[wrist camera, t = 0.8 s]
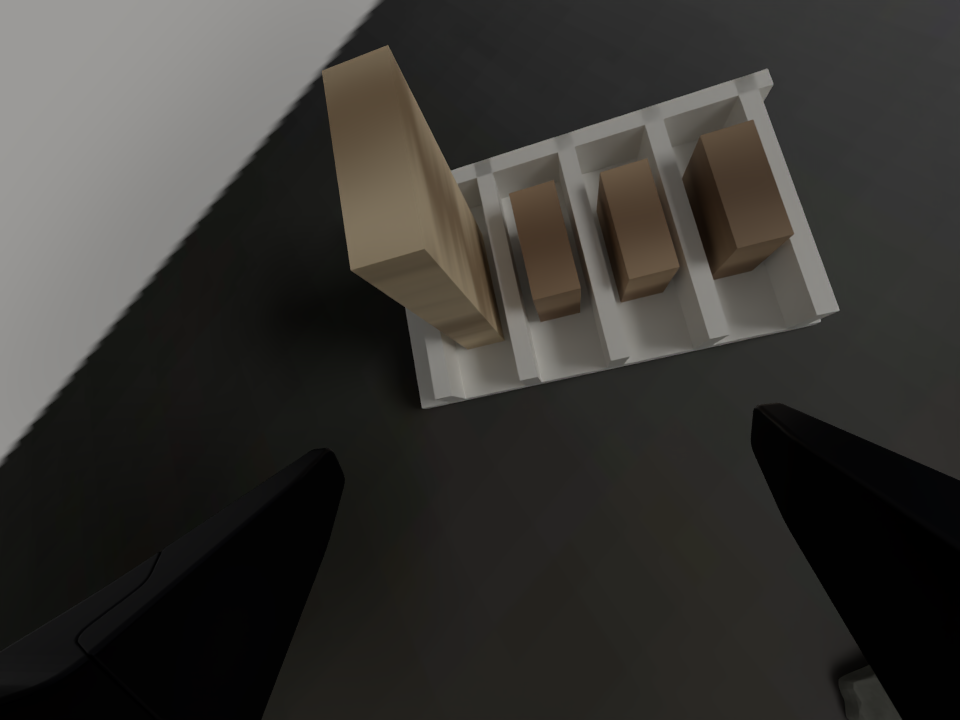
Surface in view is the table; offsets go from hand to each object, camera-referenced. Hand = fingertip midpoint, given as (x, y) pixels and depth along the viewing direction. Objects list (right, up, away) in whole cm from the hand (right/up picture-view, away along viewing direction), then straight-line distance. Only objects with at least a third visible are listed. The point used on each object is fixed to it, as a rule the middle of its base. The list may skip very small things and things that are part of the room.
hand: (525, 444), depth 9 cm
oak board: (-1, +5, +14) cm, 15 cm away
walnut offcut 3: (+10, +8, +11) cm, 17 cm away
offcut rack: (+4, +7, +13) cm, 15 cm away
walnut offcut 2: (+6, +7, +12) cm, 16 cm away
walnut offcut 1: (+3, +6, +13) cm, 15 cm away
